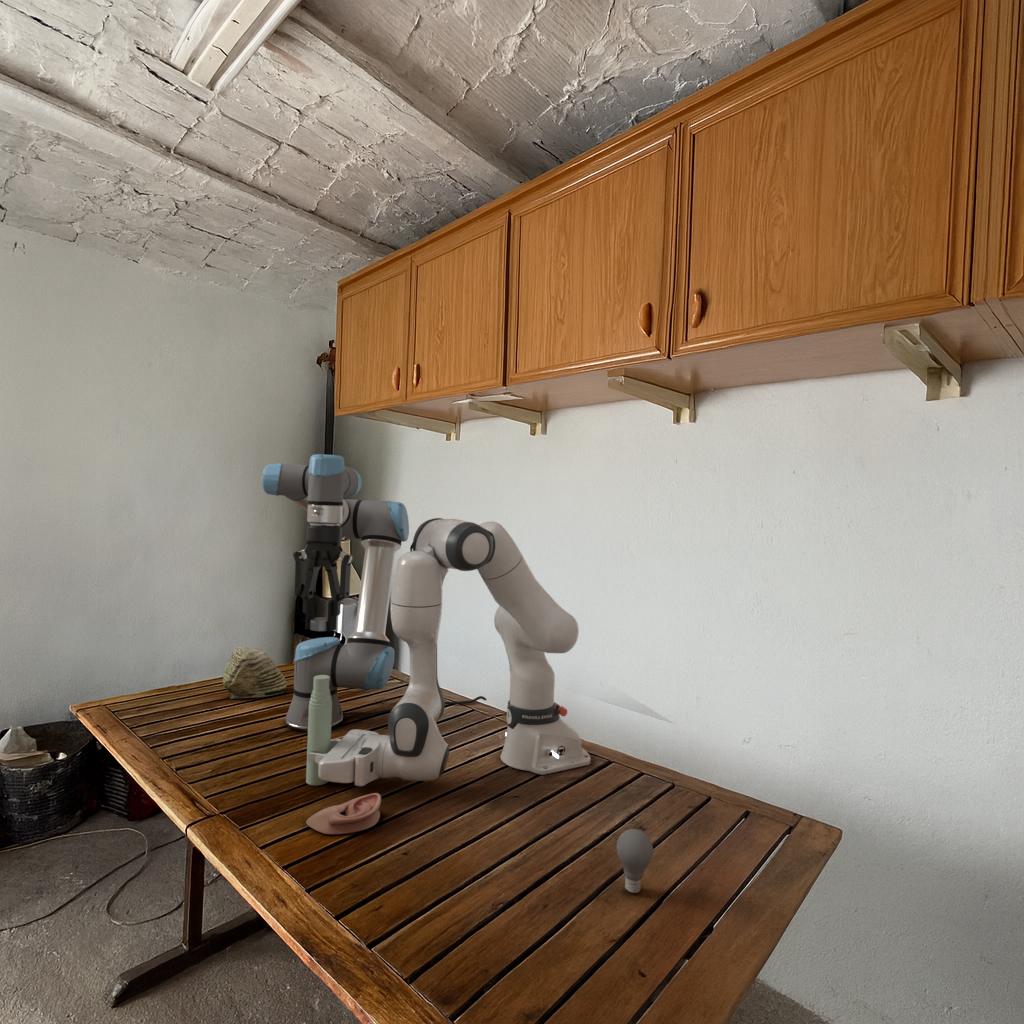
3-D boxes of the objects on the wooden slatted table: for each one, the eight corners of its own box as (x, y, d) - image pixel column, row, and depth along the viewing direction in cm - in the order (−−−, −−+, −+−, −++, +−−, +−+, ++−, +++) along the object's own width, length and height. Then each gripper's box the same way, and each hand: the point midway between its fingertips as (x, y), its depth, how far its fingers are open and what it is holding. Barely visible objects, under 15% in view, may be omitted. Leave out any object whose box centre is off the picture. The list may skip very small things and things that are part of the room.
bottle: (334, 779, 142) (338, 676, 142) (318, 787, 138) (322, 681, 137) (317, 773, 145) (321, 672, 144) (301, 782, 140) (304, 677, 140)
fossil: (218, 695, 195) (220, 647, 195) (278, 685, 208) (279, 640, 207) (228, 703, 189) (230, 653, 188) (289, 692, 201) (290, 645, 201)
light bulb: (610, 879, 108) (613, 822, 108) (644, 879, 109) (647, 822, 109) (619, 902, 102) (622, 840, 102) (655, 901, 103) (658, 840, 103)
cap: (316, 626, 144) (317, 616, 144) (335, 627, 143) (336, 618, 143) (305, 630, 139) (306, 620, 139) (325, 632, 138) (325, 622, 138)
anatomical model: (298, 809, 120) (327, 783, 131) (297, 830, 120) (327, 802, 131) (363, 819, 117) (388, 791, 128) (362, 840, 117) (387, 811, 128)
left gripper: (279, 523, 138) (275, 629, 139) (354, 527, 135) (350, 635, 135) (297, 522, 146) (293, 622, 146) (368, 525, 142) (364, 629, 143)
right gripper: (389, 725, 150) (333, 720, 151) (360, 759, 130) (295, 754, 131) (388, 751, 150) (332, 746, 152) (359, 790, 130) (294, 784, 131)
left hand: (320, 628), depth 141 cm, fingers closed on cap, 4 cm apart
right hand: (314, 750), depth 141 cm, fingers closed on bottle, 5 cm apart
